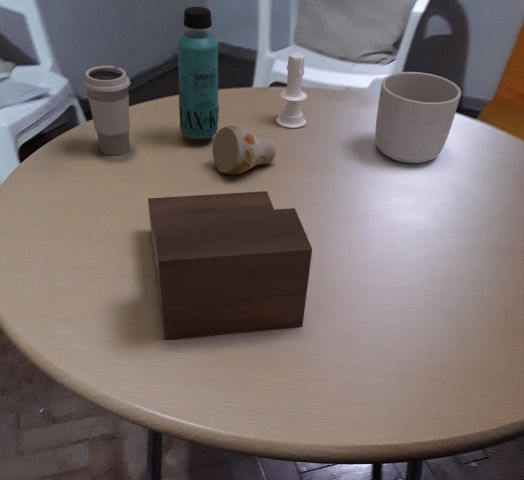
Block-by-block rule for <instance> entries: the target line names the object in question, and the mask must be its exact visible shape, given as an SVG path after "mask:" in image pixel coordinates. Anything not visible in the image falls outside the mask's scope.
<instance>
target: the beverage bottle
mask: <svg viewBox="0 0 524 480" xmlns="http://www.w3.org/2000/svg"><path fill="white" fill-rule="evenodd" d="M183 13H184V15H183V26H184V27H186V28H187V29H190V30H186V31H185V32H184V33H182V34H181V35H180V36H179V38H178V39H177V40H176V45H177V62H178V63H177V65H178V82H177V84H178V89H177V90H178V92H177V93H178V99H177V100H178V103H177V104H178V106H177V107H178V110H179V129H180V132H181V134H182V135H183V136H185V137H187V138H190V139H195V140H204V139H205V140H206V139H209V138H212V137H215V135H216V134H217V132H218V130H219V126H220V125H219V115H220V113H219V112H220V107H219V106H220V104H219V93H220V91H219V74H220V72H219V40H218V39H217V38H216V37H215V36H214V34H213V33H211V32H210V31H208V30H205V29H209V28H211V27H212V26H213V20H212V12H211V10H210V9H209V8H208V7H204V6H190V7H187V8H185V9H184V12H183Z"/></svg>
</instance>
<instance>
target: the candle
mask: <svg viewBox="0 0 524 480" xmlns="http://www.w3.org/2000/svg"><path fill="white" fill-rule="evenodd" d="M305 60H306V58H305V55H304V54H303V53H300V52H299V51H298V50H296V52H292V53H290V54H288V59H287V64H286V65H287V66H286V71H287V76H286V77H287V79H286V89H284V90H282V91H281V92H280V93H279V97H280V98H282V99H283V100H284V101H286V102H287V103H286V104H285V107H284V109H283V110H281V111H280V115H279V116H278V117H276V119H275V122H276V123H277V124H278V125H279V126H281V127H283V128H287V129H298V128H302V127H304V126H305V125H306V124H307V120H306V118H304V114H303V111H302V110H301V109H300V106H299V103H300V102H302V101H304V100H306V99H307V98H308V95H307V93H306V92H305V91H302V89H303V88H302V87H303V78H304V75H305Z"/></svg>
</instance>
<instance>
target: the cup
mask: <svg viewBox="0 0 524 480" xmlns="http://www.w3.org/2000/svg"><path fill="white" fill-rule="evenodd" d="M84 74H85V75H84V76H83V78H82V79H83V80H82V85H83V86H84V87H85V88H86V89H87V98H88V103H89V107H90V112H91V117H92V120H93V125H94V130H95V132H96V136H97V140H98V145H99V150H100V152H101V153H102V154H103V155H107V156H121V155H125V154H126V153H128V152H129V151H130V129H131V126H130V125H131V123H130V122H131V121H130V120H131V119H130V94H129V91H128V88H129V87H130V86H131V79H130V77H129V76H128V75H127V72H126V70H124V69H123V68H121V67H119V66H114V65H99V66H97V65H96V66H93V67H90V68H89V69H87V70H86V71H85V73H84Z"/></svg>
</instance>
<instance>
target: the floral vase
mask: <svg viewBox="0 0 524 480" xmlns="http://www.w3.org/2000/svg"><path fill="white" fill-rule="evenodd" d="M211 151H212V158H213V162H214V164H215V166H216V167H217V170H218V171H219V172H220V173H223V174H227V175H239V174H242V173H244V172H247V171H248V170H250V169H252V168H255V166H258V165H269V164H271V163H272V162H273V161H274V159H275V158H276V155H277V147H276V145H275V143H274V141H273V140H272V139H271V138H268V137H261V136H258V135H255V134H253V133H251V132H250V131H249V130H247V129H245V128H243V127H240V126H237V125H227V126H224V127H221V128H220V129H218V130H217V132H216V134H215V135H214V138H213V142H212V150H211Z"/></svg>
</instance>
